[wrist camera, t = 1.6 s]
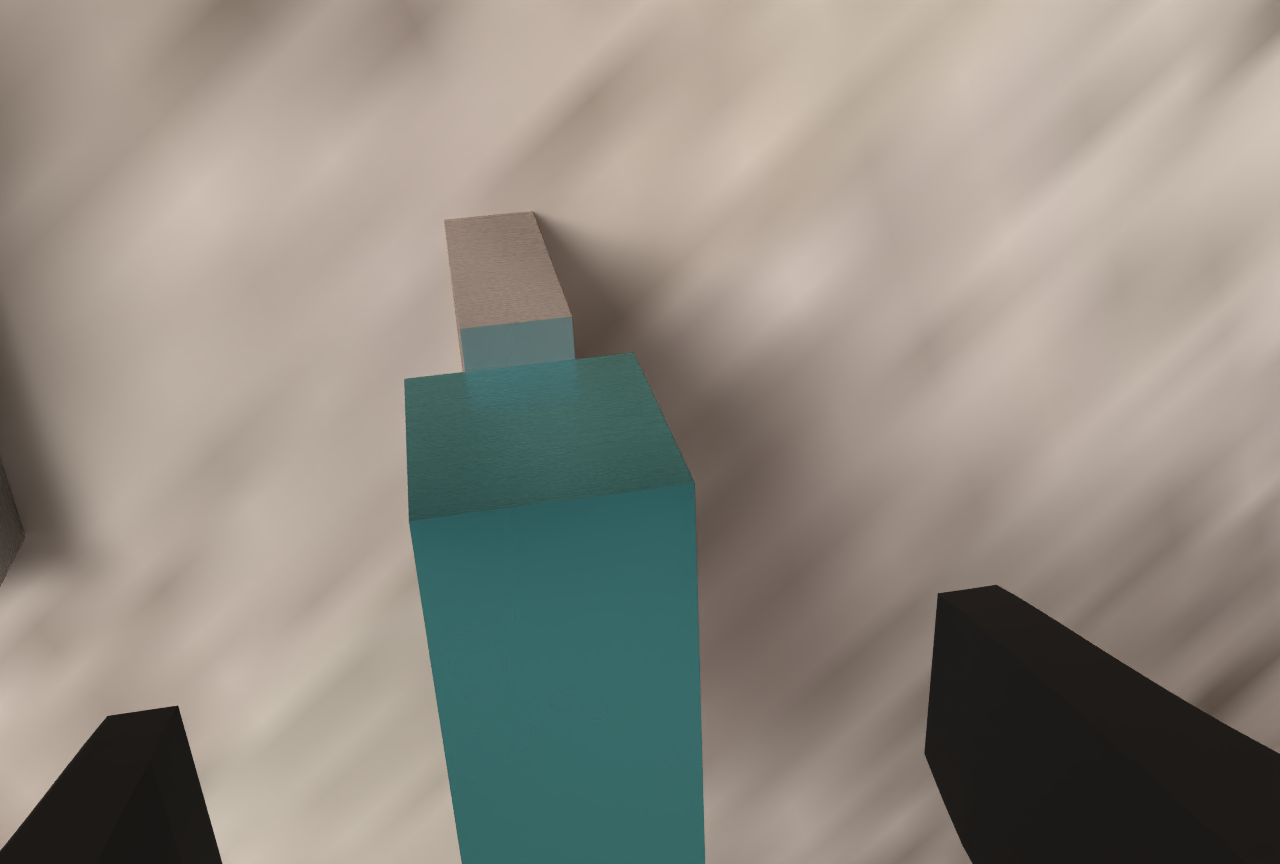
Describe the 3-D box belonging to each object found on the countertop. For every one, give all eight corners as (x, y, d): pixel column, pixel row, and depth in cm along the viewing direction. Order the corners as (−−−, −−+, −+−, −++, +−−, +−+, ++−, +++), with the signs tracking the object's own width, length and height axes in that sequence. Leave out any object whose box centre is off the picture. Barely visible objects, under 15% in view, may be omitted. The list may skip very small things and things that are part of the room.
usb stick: (604, 572, 19) (706, 921, 13) (447, 593, 19) (477, 963, 13) (580, 206, 17) (693, 433, 10) (395, 224, 16) (400, 470, 10)
